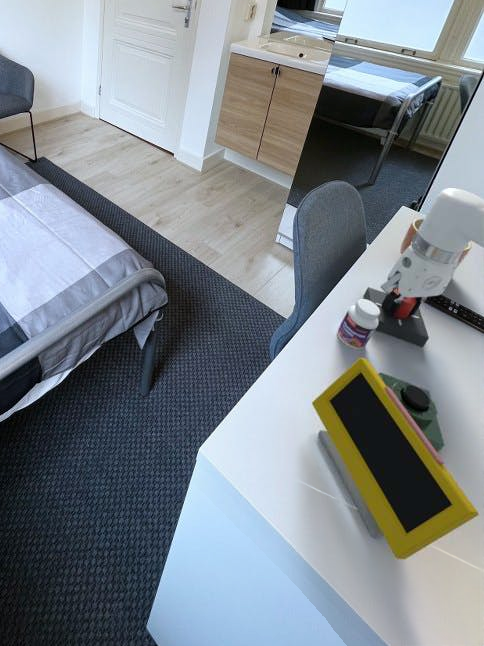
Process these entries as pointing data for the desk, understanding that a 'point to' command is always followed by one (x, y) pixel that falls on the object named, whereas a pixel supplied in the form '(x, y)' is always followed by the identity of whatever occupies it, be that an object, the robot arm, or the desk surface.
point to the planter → (412, 233)
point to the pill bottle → (359, 324)
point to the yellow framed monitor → (388, 463)
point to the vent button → (415, 398)
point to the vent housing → (418, 412)
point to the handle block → (398, 321)
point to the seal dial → (405, 306)
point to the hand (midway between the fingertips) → (397, 309)
